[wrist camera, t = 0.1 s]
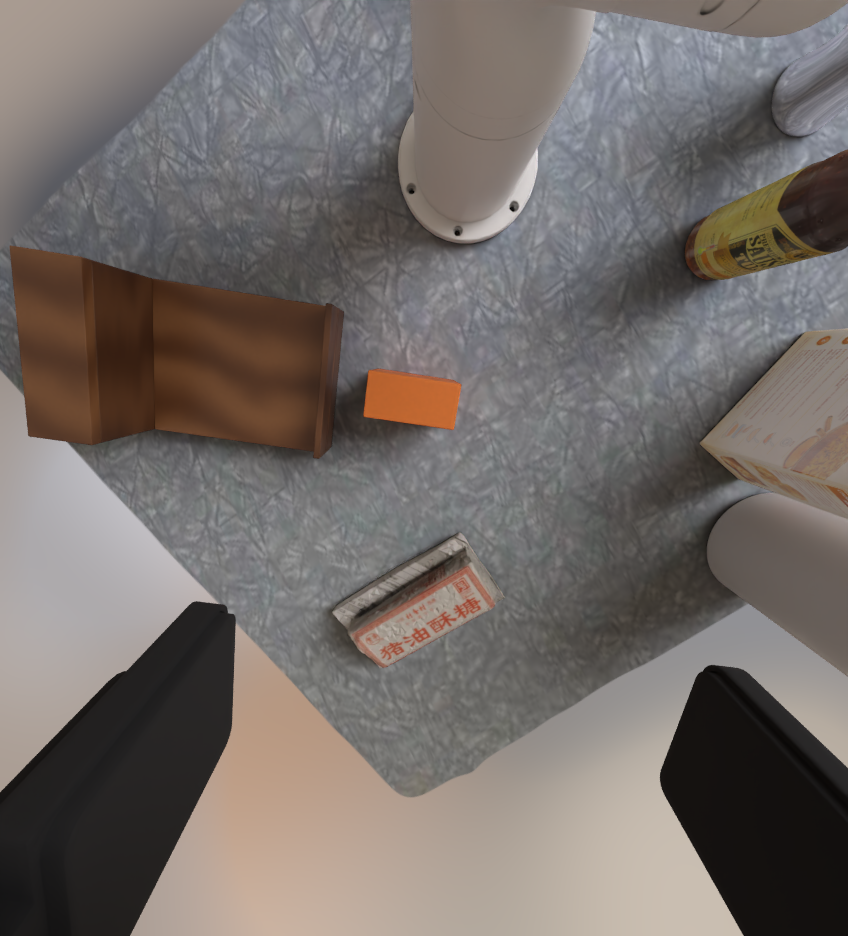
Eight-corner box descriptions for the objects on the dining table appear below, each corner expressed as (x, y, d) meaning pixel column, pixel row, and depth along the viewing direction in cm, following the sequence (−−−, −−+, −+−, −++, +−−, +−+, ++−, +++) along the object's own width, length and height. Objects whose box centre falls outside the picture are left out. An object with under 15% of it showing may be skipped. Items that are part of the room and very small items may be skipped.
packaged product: (464, 546, 42) (512, 616, 44) (460, 527, 47) (503, 592, 49) (324, 630, 44) (376, 692, 47) (333, 604, 49) (380, 662, 51)
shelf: (119, 276, 40) (8, 245, 29) (344, 311, 41) (316, 294, 30) (124, 417, 43) (28, 436, 33) (331, 447, 44) (303, 474, 34)
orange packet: (377, 368, 42) (368, 370, 34) (454, 380, 43) (461, 384, 35) (373, 406, 43) (363, 416, 35) (447, 417, 44) (453, 430, 36)
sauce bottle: (671, 275, 40) (902, 197, 21) (694, 205, 39) (967, 51, 19) (733, 290, 41) (1016, 226, 21) (758, 221, 39) (1088, 85, 20)
